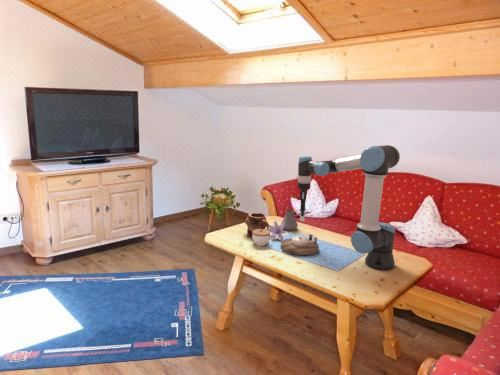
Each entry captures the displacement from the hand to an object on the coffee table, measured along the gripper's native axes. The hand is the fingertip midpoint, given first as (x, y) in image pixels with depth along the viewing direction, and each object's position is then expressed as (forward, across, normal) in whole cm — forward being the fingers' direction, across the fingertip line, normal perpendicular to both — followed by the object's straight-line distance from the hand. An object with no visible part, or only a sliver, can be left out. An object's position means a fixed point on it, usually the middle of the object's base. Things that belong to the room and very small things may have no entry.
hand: (302, 220), depth 234 cm
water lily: (+15, -6, -16) cm, 23 cm away
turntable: (+15, +9, 0) cm, 17 cm away
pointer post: (+15, -4, +5) cm, 16 cm away
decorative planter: (+15, -8, -28) cm, 33 cm away
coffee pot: (+15, -26, -5) cm, 30 cm away
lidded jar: (+15, +6, -24) cm, 29 cm away
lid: (+12, +8, -1) cm, 15 cm away
